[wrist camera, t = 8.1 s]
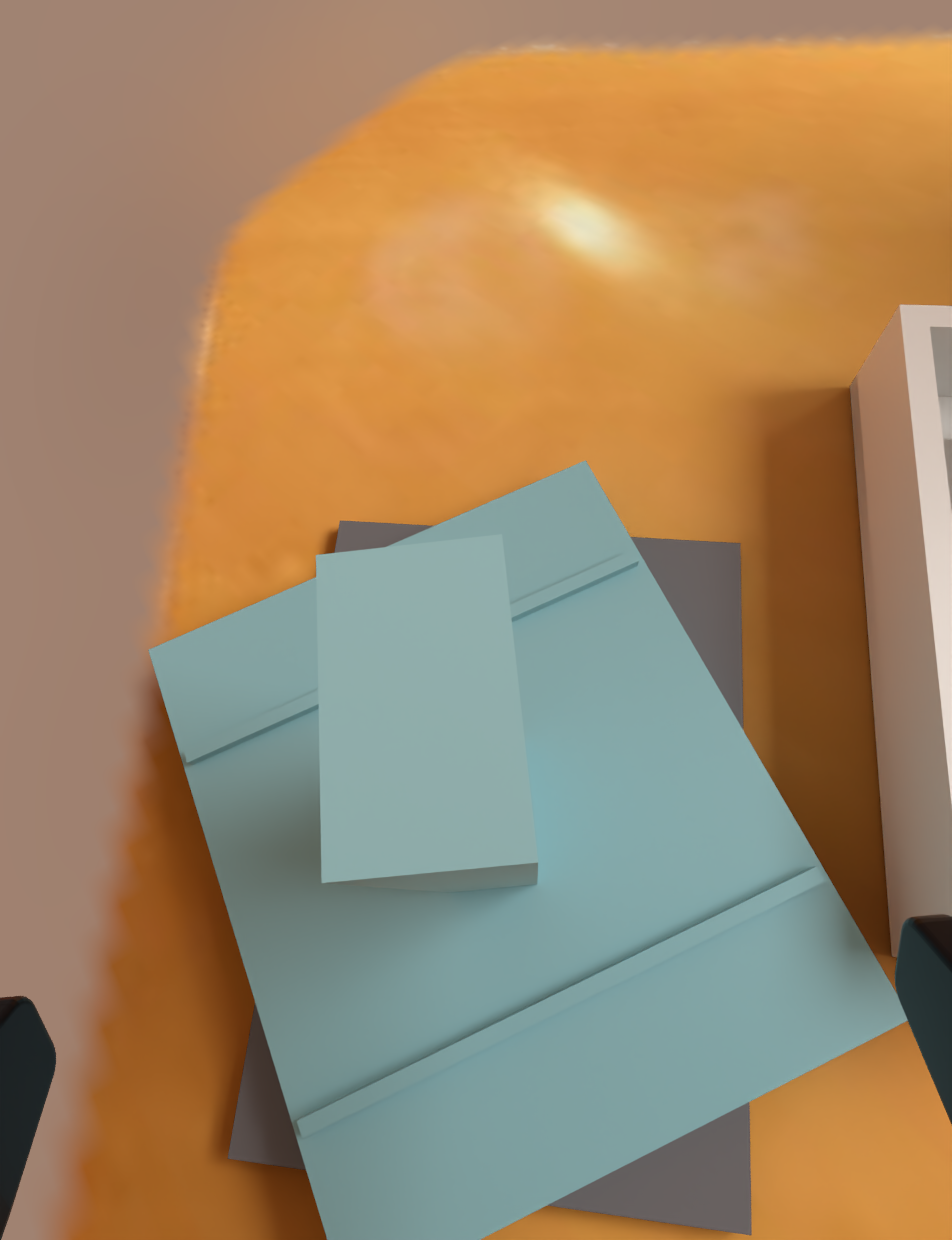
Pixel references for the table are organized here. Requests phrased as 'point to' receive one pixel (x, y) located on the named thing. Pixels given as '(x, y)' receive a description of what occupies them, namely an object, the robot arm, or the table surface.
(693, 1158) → the mat
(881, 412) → the tub
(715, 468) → the table surface
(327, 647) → the lid
